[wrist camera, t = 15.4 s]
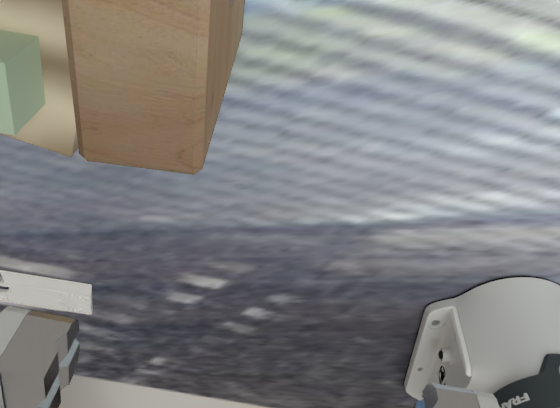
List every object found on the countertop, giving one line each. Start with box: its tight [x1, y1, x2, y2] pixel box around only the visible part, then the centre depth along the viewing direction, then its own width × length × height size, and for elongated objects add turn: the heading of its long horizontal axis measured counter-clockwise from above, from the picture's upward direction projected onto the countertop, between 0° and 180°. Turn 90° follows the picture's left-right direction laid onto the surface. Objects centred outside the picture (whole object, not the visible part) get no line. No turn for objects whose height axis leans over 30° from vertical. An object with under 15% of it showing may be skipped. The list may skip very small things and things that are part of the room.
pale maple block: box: [0, 0, 78, 157], centre depth 38 cm, size 12×12×5 cm
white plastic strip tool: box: [0, 270, 93, 315], centre depth 56 cm, size 5×15×1 cm, turn 79°
